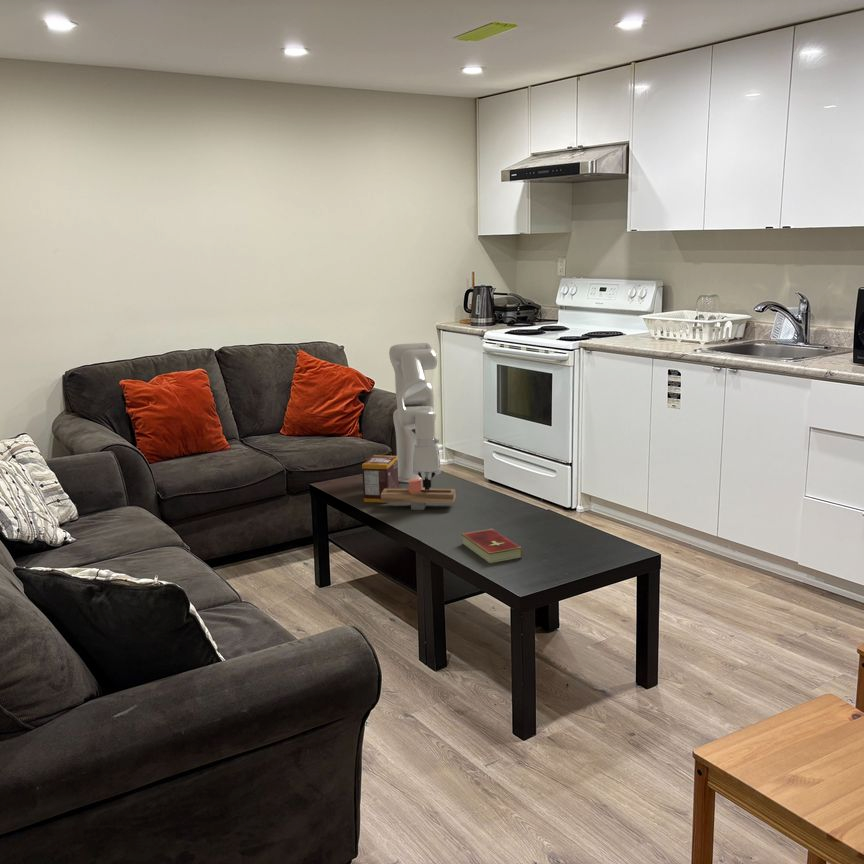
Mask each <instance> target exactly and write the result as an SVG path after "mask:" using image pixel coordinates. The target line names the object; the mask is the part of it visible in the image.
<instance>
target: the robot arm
mask: <svg viewBox="0 0 864 864" xmlns="http://www.w3.org/2000/svg"><path fill="white" fill-rule="evenodd" d="M388 351H389V352H388V355H389V356H388V357H389V359H390V363H391V365H392V367H393V372H394V376H395V377H394V381H395V383H394V386H395V399H396V406H397V408H396V409H395V410H394V411H393V415H392V418H393V419H392V420H393V426H394V430H395V440H396V441H395V442H396V444H395V445H396V456H397V459H398V483H409V481H410V479H422V488H425V490H429V489H431V488H432V479H433V478H434V476H438V475H440V474H441V458H440V449H439V446H438V445H437V444H440V439H438V438H436V420H437V418H436V417H437V414H436V410H435V405H434V403H435V402H434V399H435V398H434V388H433V385H432V384H431V382H429V381H427V379H426V374H425V371H431V370H432V371H433V370H435V369H436V368H437V366H438V355H437V353H436V351H435V349H434V348H433V346H432V345H431V344H430V343H427V342H417V343H415V342H414V343H413V342H412V343H399V344H393V345H392V346H390V348H389V350H388ZM415 404H416V405H418V406H405V405H415ZM419 404H421V405H420V406H419ZM413 430H415V432H414V431H413ZM426 473H428V474H427V475H428V476H427V475H426Z"/></svg>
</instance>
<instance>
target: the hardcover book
mask: <svg viewBox="0 0 864 864" xmlns="http://www.w3.org/2000/svg"><path fill="white" fill-rule="evenodd" d="M460 534H461V536H462V544H463V545H464V546H465V547H466V548H468V549H469V550H471V551H473V553H475V554H476V555H478V556H479V557H480V558H482V559H483V560H485V561H486V562H487V563H489V564H494V563H499V562H503V561H509V560H514V559H519V558H520V559H523V554H524V553H523V551H524V550H523V548H522V547H521V546H520V545H518V544H517V543H515V542H514V541H512V540H510V539H509V538H508V537H506V536H504V535H503V534H501V533H499V532H498V531H496V530H495V529H493V528H488V529H483V530H476V531H471V532H465V533H464V532H463V533H460Z"/></svg>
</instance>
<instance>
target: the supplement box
mask: <svg viewBox="0 0 864 864" xmlns="http://www.w3.org/2000/svg"><path fill="white" fill-rule="evenodd" d="M361 468H362V469H361V470H362V491H363V502H364V503H382V504H388V503H390V502H381V493H382V491H383V490H384V488H399V483H400V482H398V459H397V455H381V454H380V455H377V454H376V455H375V454H373V455H372V456H371V457H370V458H368V459H367V460H366V461H365V462H364V463H362V465H361Z"/></svg>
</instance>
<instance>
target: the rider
mask: <svg viewBox="0 0 864 864" xmlns="http://www.w3.org/2000/svg"><path fill="white" fill-rule="evenodd" d="M422 488H423V480H422V479H410V481H409V482H408V489H409V493H421V491H422Z"/></svg>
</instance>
